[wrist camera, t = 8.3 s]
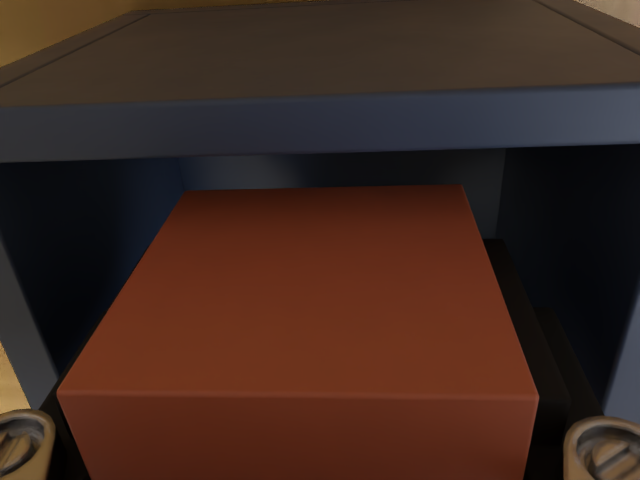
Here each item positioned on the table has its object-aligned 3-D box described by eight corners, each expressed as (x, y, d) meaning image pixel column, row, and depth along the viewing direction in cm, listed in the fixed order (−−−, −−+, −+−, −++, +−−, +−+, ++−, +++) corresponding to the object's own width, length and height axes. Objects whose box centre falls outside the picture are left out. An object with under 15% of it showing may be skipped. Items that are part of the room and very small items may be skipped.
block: (183, 189, 10) (52, 392, 6) (462, 182, 10) (541, 396, 5) (224, 388, 13) (152, 632, 8) (446, 389, 12) (491, 648, 8)
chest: (130, 10, 17) (-107, 111, 8) (548, -12, 16) (767, 77, 7) (211, 388, 25) (133, 636, 16) (492, 389, 24) (566, 656, 15)
